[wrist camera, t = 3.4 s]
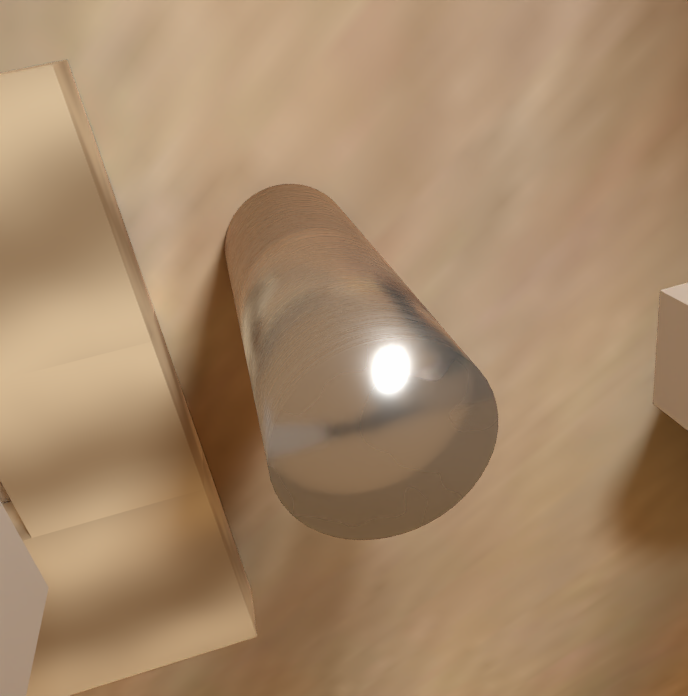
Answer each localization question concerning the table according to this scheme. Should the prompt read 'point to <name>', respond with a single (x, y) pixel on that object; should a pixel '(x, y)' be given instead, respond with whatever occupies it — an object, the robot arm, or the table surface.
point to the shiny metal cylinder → (350, 373)
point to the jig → (98, 418)
